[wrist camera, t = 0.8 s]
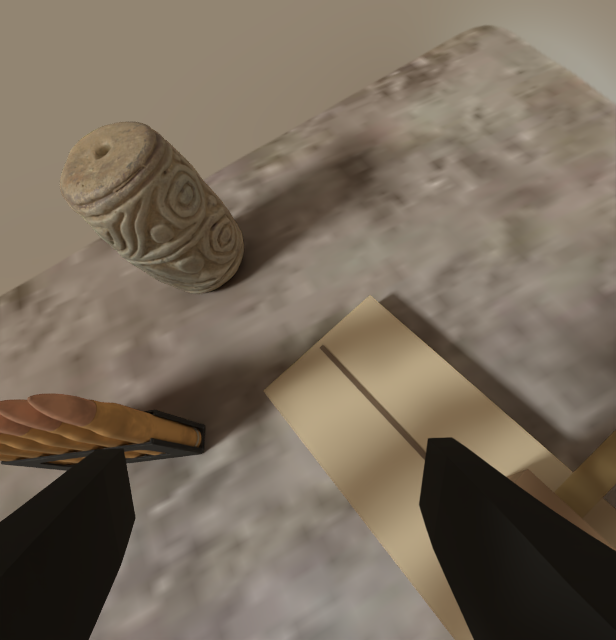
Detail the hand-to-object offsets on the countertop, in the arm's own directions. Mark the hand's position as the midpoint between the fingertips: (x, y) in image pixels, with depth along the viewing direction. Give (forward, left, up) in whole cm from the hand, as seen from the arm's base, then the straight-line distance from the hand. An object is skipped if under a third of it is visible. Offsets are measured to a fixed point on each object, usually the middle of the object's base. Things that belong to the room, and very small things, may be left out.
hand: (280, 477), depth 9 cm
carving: (+20, -2, -14) cm, 25 cm away
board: (-1, -4, -14) cm, 14 cm away
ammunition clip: (+12, +10, -14) cm, 21 cm away
